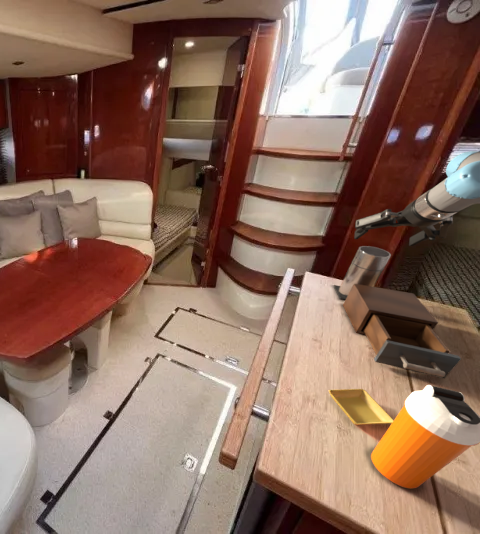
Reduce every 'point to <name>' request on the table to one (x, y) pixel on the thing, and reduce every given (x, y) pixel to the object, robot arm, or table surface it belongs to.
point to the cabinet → (384, 306)
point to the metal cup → (364, 268)
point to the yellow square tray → (360, 407)
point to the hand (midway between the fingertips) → (382, 238)
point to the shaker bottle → (426, 436)
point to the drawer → (409, 346)
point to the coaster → (339, 293)
